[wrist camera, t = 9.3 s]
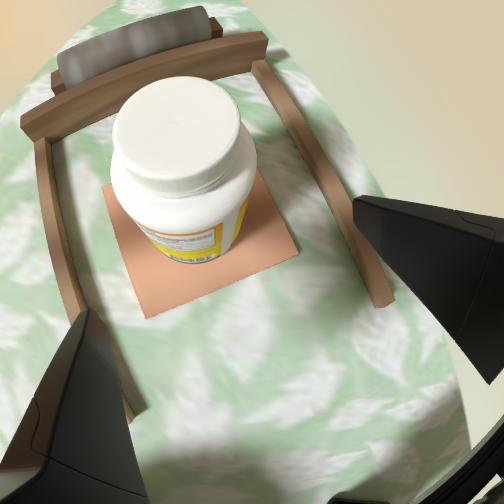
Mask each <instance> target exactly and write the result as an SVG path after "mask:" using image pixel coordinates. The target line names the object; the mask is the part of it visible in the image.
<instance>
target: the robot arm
mask: <svg viewBox="0 0 504 504" xmlns="http://www.w3.org/2000/svg"><path fill="white" fill-rule="evenodd" d="M352 213H353V223H354V225H355V227H356V228H357V229H358V230H359V231H360V233H361V234H362V235H363V236H364V238H365V239H366V240H367V241H368V243H369V244H370V245H371V246H372V248H373V249H374V250H375V251H376V253H377V254H378V255H379V256H380V257H381V258H382V259H383V260H384V262H385V263H386V264H387V265H388V266H389V267H390V268H391V269H392V270H393V271H394V272H395V273H396V274H397V275H398V276H399V277H400V278H401V280H402V281H403V282H404V283H405V284H406V285H407V286H408V287H409V288H410V289H411V291H412V292H413V293H414V294H415V295H416V296H417V297H418V298H419V299H420V301H421V302H422V303H423V304H424V305H425V306H426V307H427V309H428V310H429V311H430V312H431V313H432V314H433V316H434V317H435V318H436V319H437V320H438V321H439V323H440V324H441V325H442V326H443V327H444V329H445V330H446V331H447V332H448V333H449V334H450V336H451V337H452V338H453V340H455V342H456V343H457V345H458V346H459V347H460V348H461V350H462V351H463V352H464V353H465V355H466V356H467V357H468V359H469V360H470V361H471V363H472V364H473V365H474V367H475V368H476V369H477V371H478V372H479V373H480V375H481V376H482V377H483V379H484V380H485V381H486V383H487V384H489V385H490V384H491V382H492V381H493V380H494V379H495V378H496V377H497V376H498V374H499V373H500V372H501V371H502V370H503V368H504V218H498V217H491V216H485V215H479V214H474V213H468V212H464V211H458V210H455V211H454V210H453V209H448V208H443V207H437V206H432V205H426V204H420V203H414V202H408V201H402V200H395V199H388V198H382V197H375V196H367V195H361V196H359V197H356V198H354V199H353V201H352ZM496 474H498V475H499V476H500V478H501V479H502V481H500V482H499V483H497V484H496V485H495V486H494V487H492V488H491V489H490V490H489V491H488V492H487V493H486V494H485V495H484V496H483V498H482V499H479V500H476V501H475V502H474V503H473V504H504V415H503V416H502V417H501V419H500V420H499V421H498V422H497V423H496V425H495V426H494V427H493V428H492V429H491V430H490V431H489V432H488V434H487V435H486V436H485V437H484V438H483V439H482V440H481V441H480V442H479V443H478V444H477V445H476V446H475V447H474V448H473V449H472V450H471V451H470V452H469V453H468V454H467V455H466V456H465V457H464V458H463V459H462V460H461V461H460V462H459V463H458V464H457V465H456V466H455V467H454V468H452V469H451V470H450V471H449V472H448V473H447V474H446V475H445V476H443V477H442V478H441V479H440V480H439V481H437V482H436V483H435V484H434V485H433V486H431V487H430V488H429V489H428V490H426V491H425V492H424V493H422V494H421V495H420V496H418V497H417V498H416V499H414V500H413V501H412V502H410V503H409V504H467V503H469V502H470V501H471V500H472V499H473V498H474V497H475V496H476V495H477V494H478V493H479V492H480V491H481V490H482V489H483V488H484V487H485V486H486V485H487V484H488V483H489V481H490V480H491V479H492V478H493V477H494V476H495V475H496ZM147 497H148V496H147V493H146V490H145V486H144V483H143V480H142V477H141V473H140V470H139V466H138V463H137V459H136V456H135V452H134V448H133V444H132V440H131V436H130V431H129V427H128V423H127V418H126V413H125V408H124V403H123V398H122V392H121V386H120V380H119V375H118V370H117V366H116V362H115V358H114V354H113V350H112V346H111V342H110V338H109V333H108V330H107V327H106V326H105V324H104V323H103V321H102V320H101V319H100V317H99V316H98V315H97V313H96V312H95V311H94V310H93V309H92V308H88V309H85V310H83V311H81V312H80V313H79V314H78V316H77V318H76V319H75V321H74V322H73V324H72V326H71V327H70V329H69V331H68V333H67V334H66V336H65V338H64V339H63V341H62V343H61V345H60V346H59V348H58V350H57V352H56V354H55V355H54V357H53V359H52V361H51V363H50V364H49V366H48V368H47V370H46V372H45V374H44V376H43V378H42V380H41V382H40V384H39V386H38V388H37V390H36V392H35V394H34V397H33V398H32V400H31V402H30V404H29V406H28V408H27V410H26V412H25V415H24V417H23V419H22V421H21V423H20V425H19V427H18V429H17V431H16V433H15V435H14V437H13V439H12V441H11V442H10V445H9V447H8V449H7V451H6V453H5V455H4V457H3V459H2V461H1V463H0V504H150V501H149V498H147ZM335 503H336V504H391V503H388V502H371V501H359V500H349V499H341V498H334V499H332V500H330V501H329V502H328V504H335Z"/></svg>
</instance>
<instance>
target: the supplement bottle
mask: <svg viewBox="0 0 504 504" xmlns="http://www.w3.org/2000/svg"><path fill="white" fill-rule="evenodd" d="M113 143H114V148H115V150H114V153H113V156H112V162H111V180H112V186H113V189H114V192H115V195H116V197H117V199H118V201H119V202H120V204H121V206H122V207H123V209H124V210H125V211H126V212H127V213H128V215H129V216H130V217H131V218H132V219H133V220H134V222H135V223H136V224H137V225H138V226H139V227H140V229H141V230H142V231H143V232H144V233H145V234H146V235H147V237H148V238H149V239H150V240H151V241H152V242H153V243H154V244H155V246H156V247H157V248H158V249H159V250H160V251H161V252H162V253H163V254H165V255H166V256H167V257H169V258H171V259H173V260H175V261H177V262H180V263H184V264H203V263H207V262H210V261H212V260H214V259H217V258H218V257H220V256H221V255H223V254H224V253H225V252H226V251H227V250H228V249H229V248H230V247H231V246H232V244H233V243H234V241H235V240H236V238H237V236H238V233H239V230H240V227H241V223H242V220H243V217H244V213H245V210H246V206H247V203H248V200H249V196H250V193H251V190H252V186H253V183H254V180H255V174H256V168H257V155H256V149H255V144H254V142H253V139H252V137H251V135H250V133H249V131H248V130H247V128H246V127H245V126H244V124H243V123H242V122H241V117H240V112H239V109H238V106H237V104H236V102H235V101H234V99H233V98H232V96H231V95H230V94H229V93H228V92H227V91H226V90H224V89H223V88H222V87H220V86H219V85H217V84H215V83H213V82H211V81H208V80H206V79H202V78H197V77H190V76H181V77H171V78H166V79H162V80H159V81H156V82H153V83H151V84H149V85H147V86H145V87H143V88H141V89H140V90H139V91H137V92H136V93H135V94H133V95H132V96H131V97H130V98H129V99H128V100H127V101H126V102H125V104H124V105H123V106H122V108H121V109H120V111H119V113H118V115H117V117H116V119H115V123H114V127H113Z"/></svg>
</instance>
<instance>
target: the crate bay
mask: <svg viewBox="0 0 504 504" xmlns="http://www.w3.org/2000/svg"><path fill="white" fill-rule="evenodd" d="M222 35H223V28H222V27H221V25H220V24H219V23H218V21H217V20H216V19H215V17H211V18H209V17H208V15H207V12H206V10H205V9H204V7H202V6H196V7H191V8H186V9H182V10H178V11H173V12H169V13H165V14H162V15H158V16H154V17H151V18H147V19H144V20H141V21H138V22H134V23H131V24H128V25H125V26H123V27H120V28H117V29H114V30H111V31H109V32H106V33H104V34H101V35H99V36H96V37H94V38H91V39H89V40H87V41H84V42H82V43H80V44H78V45H75V46H73V47H71V48H69V49H67V50H65V51H63V52H61V53H59V54H58V55H57V62H58V68H59V69H58V70H56V71H54V72H52V73H51V89H52V91H53V92H54V94H55V97H53V98H51V99H49V100H47V101H45V102H44V103H42V104H40V105H38V106H37V107H35V108H33V109H31V110H30V111H28V112H26V113H25V114H23V115H22V116H21V119H20V128H21V129H22V130H23V131H24V132H25V133H26V135H27V136H28V137H29V138H30V139H31V140H32V141H33V142H34V151H35V164H36V174H37V183H38V191H39V199H40V205H41V212H42V217H43V223H44V228H45V234H46V238H47V243H48V248H49V252H50V256H51V261H52V265H53V269H54V272H55V276H56V280H57V283H58V287H59V290H60V294H61V297H62V300H63V303H64V307H65V310H66V313H67V316H68V319H69V322H70V324H71V326H72V324H73V322H74V321H75V319H76V318H77V316H78V314H79V313H80V312H81V311H83V310H85V309H87V306H86V303H85V300H84V297H83V294H82V291H81V288H80V285H79V281H78V278H77V275H76V271H75V268H74V264H73V261H72V257H71V253H70V249H69V245H68V241H67V237H66V233H65V229H64V224H63V219H62V215H61V210H60V204H59V199H58V193H57V188H56V181H55V175H54V167H53V160H52V151H51V144H53V143H55V142H56V141H58V140H60V139H62V138H64V137H66V136H68V135H70V134H72V133H74V132H76V131H78V130H80V129H82V128H84V127H86V126H88V125H90V124H92V123H94V122H97V121H99V120H101V119H103V118H106V117H108V116H110V115H113V114H115V113H117V112H119V111H120V109H121V108H122V106H123V105H124V104H125V102H126V101H127V100H128V99H129V98H130V97H131V96H132V95H133V94H135V93H136V92H137V91H139V90H140V89H141V88H143V87H145V86H147V85H149V84H151V83H153V82H156V81H159V80H162V79H166V78H171V77H181V76H190V77H197V78H202V79H206V80H208V81H212V80H215V79H219V78H223V77H228V76H232V75H236V74H240V73H245V72H250V71H251V72H252V74H253V75H254V77H255V78H256V80H257V81H258V83H259V84H260V86H261V88H262V89H263V91H264V92H265V94H266V95H267V97H268V99H269V100H270V102H271V103H272V105H273V107H274V108H275V110H276V112H277V113H278V115H279V117H280V118H281V120H282V122H283V123H284V125H285V127H286V128H287V130H288V132H289V133H290V135H291V137H292V139H293V140H294V142H295V144H296V146H297V147H298V149H299V151H300V153H301V154H302V156H303V158H304V160H305V162H306V164H307V165H308V167H309V169H310V171H311V173H312V175H313V176H314V178H315V180H316V182H317V184H318V186H319V188H320V190H321V192H322V194H323V196H324V197H325V199H326V201H327V203H328V205H329V207H330V209H331V211H332V213H333V215H334V217H335V219H336V221H337V224H338V226H339V228H340V230H341V232H342V234H343V236H344V238H345V240H346V242H347V245H348V247H349V249H350V251H351V253H352V255H353V258H354V260H355V262H356V264H357V267H358V269H359V271H360V273H361V276H362V278H363V280H364V283H365V285H366V287H367V290H368V292H369V294H370V297H371V299H372V302H373V304H374V307H375V308H383V307H386V306H387V305H389V304H390V303H392V302H394V301H395V298H394V295H393V293H392V290H391V288H390V285H389V283H388V281H387V278H386V276H385V273H384V271H383V269H382V266H381V264H380V262H379V260H378V257H377V255H376V253H375V251H374V249H373V248H372V246H371V245H370V244H369V243H368V241H367V240H366V239H365V238H364V236H363V235H362V234H361V233H360V231H359V230H358V229H357V228H356V227H355V225H354V223H353V213H352V203H351V201H350V199H349V197H348V195H347V193H346V191H345V189H344V187H343V185H342V183H341V182H340V180H339V178H338V176H337V174H336V172H335V171H334V169H333V167H332V165H331V163H330V162H329V160H328V158H327V156H326V155H325V153H324V151H323V149H322V148H321V146H320V144H319V142H318V141H317V139H316V137H315V136H314V134H313V132H312V131H311V129H310V128H309V126H308V124H307V123H306V121H305V119H304V118H303V116H302V115H301V113H300V111H299V110H298V108H297V107H296V105H295V104H294V102H293V101H292V99H291V98H290V96H289V95H288V93H287V92H286V90H285V89H284V87H283V86H282V84H281V83H280V81H279V80H278V78H277V77H276V75H275V74H274V73H273V71H272V70H271V68H270V67H269V65H268V64H267V63H266V61H265V60H264V58H265V53H266V49H267V45H268V40H269V39H268V38H267V36H266V35H265V34H264V33H263V32H262V31H257V32H250V33H244V34H237V35H232V36H226V37H222ZM102 190H103V193H104V197H105V201H106V205H107V208H108V212H109V215H110V219H111V222H112V225H113V229H114V232H115V235H116V238H117V242H118V245H119V248H120V251H121V254H122V257H123V260H124V263H125V266H126V268H127V271H128V274H129V277H130V280H131V282H132V285H133V288H134V291H135V293H136V296H137V298H138V301H139V304H140V306H141V309H142V311H143V314H144V316H145V318H146V319H148V318H151V317H153V316H156V315H158V314H160V313H163V312H165V311H168V310H170V309H173V308H175V307H177V306H180V305H182V304H185V303H187V302H189V301H192V300H194V299H196V298H199V297H201V296H204V295H206V294H208V293H211V292H213V291H215V290H218V289H220V288H222V287H225V286H227V285H229V284H232V283H234V282H236V281H239V280H241V279H243V278H246V277H248V276H250V275H253V274H255V273H257V272H260V271H262V270H264V269H266V268H269V267H271V266H273V265H276V264H278V263H280V262H282V261H285V260H287V259H289V258H291V257H294V256H296V255H298V254H299V253H298V251H297V249H296V246H295V244H294V242H293V240H292V238H291V236H290V234H289V232H288V229H287V227H286V225H285V223H284V221H283V219H282V217H281V215H280V213H279V211H278V208H277V206H276V204H275V202H274V200H273V198H272V196H271V194H270V192H269V190H268V188H267V186H266V184H265V182H264V180H263V178H262V176H261V174H260V172H259V170H258V168H256V174H255V180H254V183H253V186H252V190H251V193H250V196H249V200H248V203H247V206H246V210H245V213H244V217H243V220H242V223H241V227H240V230H239V233H238V236H237V238H236V240H235V241H234V243H233V244H232V246H231V247H230V248H229V249H228V250H227V251H226V252H225V253H224V254H223V255H221V256H220V257H218V258H217V259H214V260H212V261H210V262H207V263H203V264H184V263H180V262H177V261H175V260H173V259H171V258H169V257H167V256H166V255H165V254H163V253H162V252H161V251H160V250H159V249H158V248H157V247H156V246H155V244H154V243H153V242H152V241H151V240H150V239H149V238H148V237H147V235H146V234H145V233H144V232H143V231H142V230H141V229H140V227H139V226H138V225H137V224H136V223H135V222H134V220H133V219H132V218H131V217H130V216H129V215H128V213H127V212H126V211H125V210H124V209H123V207H122V206H121V204H120V202H119V201H118V199H117V197H116V195H115V192H114V189H113V186H112V183H111V184H108V185H106V186H104V187H102ZM121 392H122V390H121ZM122 398H123V403H124V408H125V413H126V418H127V423H128V424H130V423H131V422H132V421H133V420H134V418H135V415H134V414H133V412H132V410H131V408H130V406H129V404H128V402H127V400H126V398H125V396H124V394H123V392H122Z"/></svg>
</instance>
